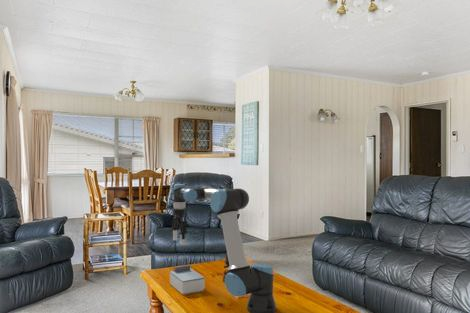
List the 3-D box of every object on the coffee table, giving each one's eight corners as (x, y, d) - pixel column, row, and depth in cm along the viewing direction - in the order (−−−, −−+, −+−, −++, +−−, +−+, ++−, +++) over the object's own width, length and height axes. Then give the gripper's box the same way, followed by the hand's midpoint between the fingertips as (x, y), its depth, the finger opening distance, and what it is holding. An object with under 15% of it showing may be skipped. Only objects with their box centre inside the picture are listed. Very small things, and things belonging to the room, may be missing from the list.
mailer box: (204, 290, 214) (204, 278, 214) (182, 295, 206) (182, 282, 206) (190, 280, 231) (190, 269, 231) (169, 284, 224) (170, 273, 224)
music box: (231, 285, 223) (229, 252, 224) (218, 283, 230) (216, 251, 231) (246, 279, 235) (244, 248, 236) (232, 277, 242) (231, 246, 243)
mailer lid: (204, 278, 214) (204, 272, 214) (182, 282, 206) (182, 275, 206) (190, 269, 231) (190, 263, 231) (170, 272, 224) (170, 266, 224)
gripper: (167, 206, 239) (166, 239, 239) (181, 211, 219) (180, 247, 218) (177, 205, 243) (177, 237, 243) (192, 210, 222) (191, 245, 222)
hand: (178, 242), depth 231 cm, fingers open, 12 cm apart
